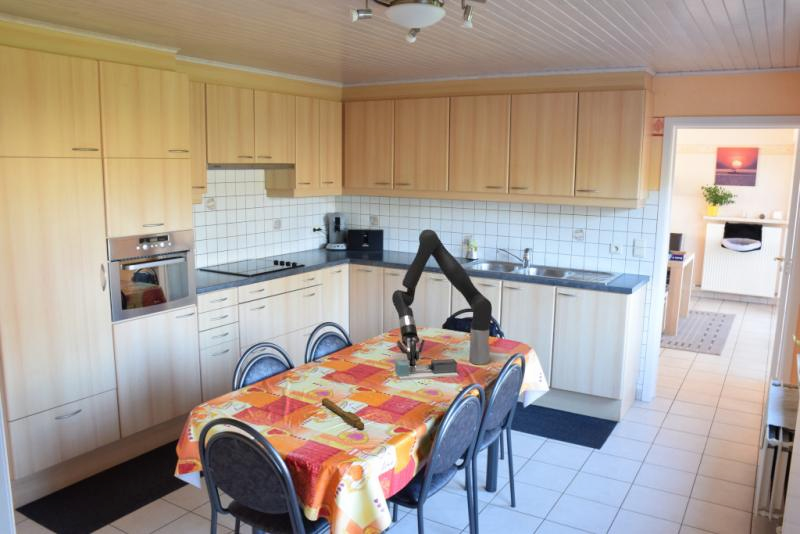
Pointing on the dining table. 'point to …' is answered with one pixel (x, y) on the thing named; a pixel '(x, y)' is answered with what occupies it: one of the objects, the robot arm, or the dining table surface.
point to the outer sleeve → (444, 366)
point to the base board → (425, 375)
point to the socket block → (401, 368)
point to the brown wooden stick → (344, 414)
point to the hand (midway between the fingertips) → (413, 360)
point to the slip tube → (412, 364)
